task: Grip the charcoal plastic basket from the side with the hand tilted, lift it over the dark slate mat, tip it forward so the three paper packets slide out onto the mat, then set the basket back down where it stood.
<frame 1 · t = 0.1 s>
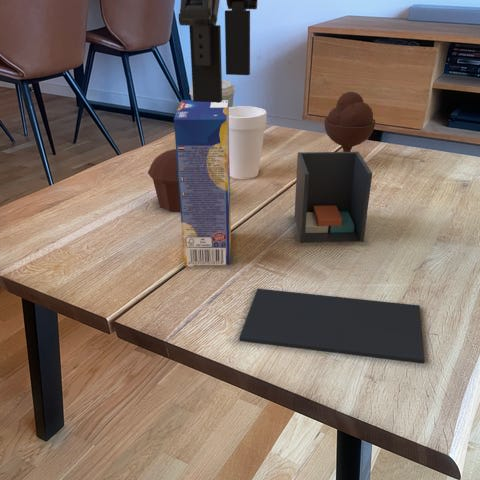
hand: (224, 87, 59), 28 cm above the table, tool pointing down, fingers open, 13 cm apart
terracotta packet: (326, 218, 95), point 2 cm above the table, touching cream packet, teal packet
ice cream bowl: (345, 165, 124), on the table
foam cup: (243, 175, 118), on the table
disposable coffee cup: (214, 147, 135), on the table
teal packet: (339, 225, 95), point 1 cm above the table, touching basket, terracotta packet
beverage box: (208, 252, 89), on the table
mat: (332, 325, 71), on the table
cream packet: (313, 225, 95), point 1 cm above the table, touching basket, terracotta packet
muffin: (182, 205, 105), on the table
basket: (327, 232, 95), on the table, touching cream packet, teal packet
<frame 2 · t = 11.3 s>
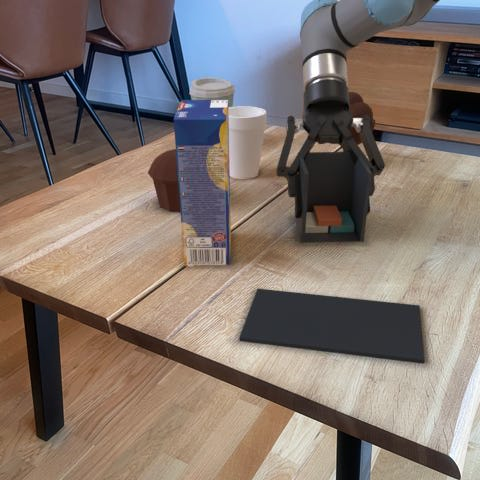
hand: (332, 214, 90), 5 cm above the table, tool tilted 45°, fingers closed on basket, 10 cm apart
basket: (327, 232, 95), on the table, touching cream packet, gripper, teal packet
everything else where it was.
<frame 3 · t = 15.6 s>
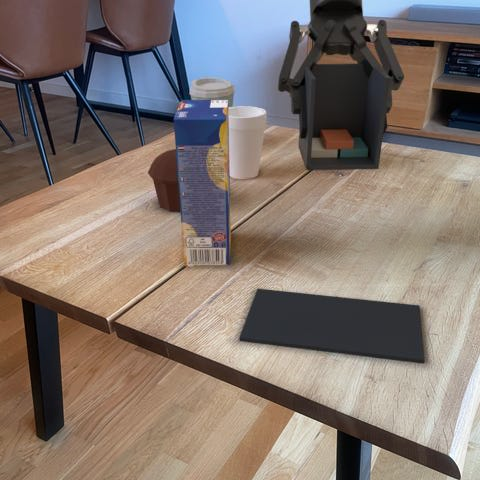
hand: (343, 133, 77), 19 cm above the table, tool tilted 45°, fingers closed on basket, 10 cm apart
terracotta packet: (336, 143, 82), point 16 cm above the table, touching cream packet, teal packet
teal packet: (350, 151, 83), point 15 cm above the table, touching basket, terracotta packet
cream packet: (320, 151, 83), point 15 cm above the table, touching basket, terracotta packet
basket: (336, 158, 82), point 14 cm above the table, touching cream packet, gripper, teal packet
everything else where it was.
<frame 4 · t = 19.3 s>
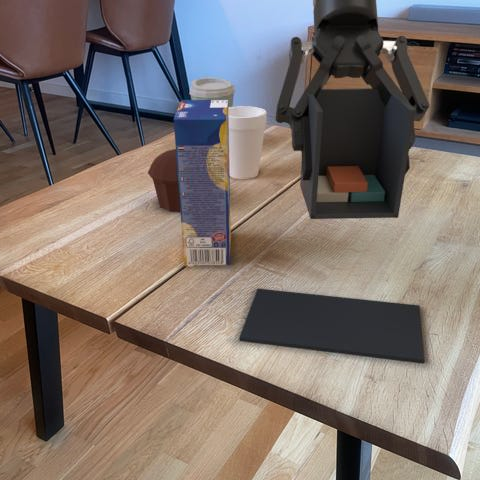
hand: (355, 174, 63), 19 cm above the table, tool tilted 45°, fingers closed on basket, 10 cm apart
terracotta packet: (345, 183, 68), point 16 cm above the table, touching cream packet, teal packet
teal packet: (362, 192, 69), point 15 cm above the table, touching basket, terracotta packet
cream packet: (327, 193, 69), point 15 cm above the table, touching basket, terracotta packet
basket: (346, 202, 68), point 14 cm above the table, touching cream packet, gripper, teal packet
everything else where it was.
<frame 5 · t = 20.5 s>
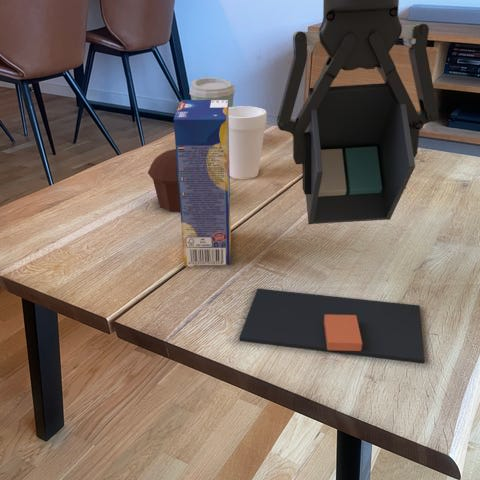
hand: (353, 188, 65), 17 cm above the table, tool pointing down, fingers closed on basket, 10 cm apart
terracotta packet: (342, 328, 67), point 2 cm above the table, tilted 180°, touching mat
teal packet: (362, 173, 70), point 17 cm above the table, tilted 39°, touching basket
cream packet: (327, 175, 71), point 16 cm above the table, tilted 39°, touching basket
basket: (345, 186, 71), point 15 cm above the table, tilted 39°, touching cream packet, gripper, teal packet
everything else where it was.
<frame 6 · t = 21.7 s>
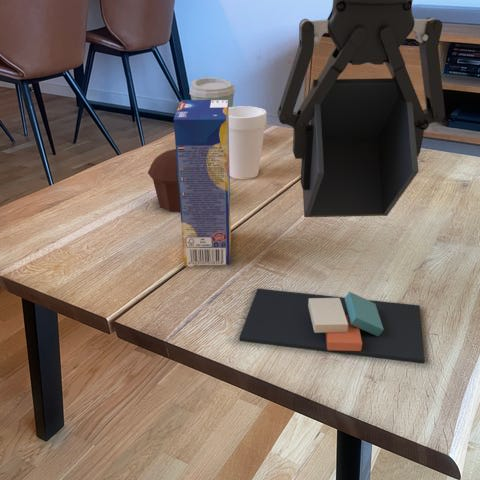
hand: (352, 185, 64), 18 cm above the table, tool pointing down, fingers closed on basket, 10 cm apart
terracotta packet: (342, 328, 67), point 2 cm above the table, tilted 180°, touching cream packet, mat, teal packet
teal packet: (366, 310, 69), point 3 cm above the table, tilted 153°, touching mat, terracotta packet
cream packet: (327, 310, 68), point 3 cm above the table, tilted 180°, touching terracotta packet
basket: (343, 178, 69), point 17 cm above the table, tilted 45°, touching gripper
everything else where it was.
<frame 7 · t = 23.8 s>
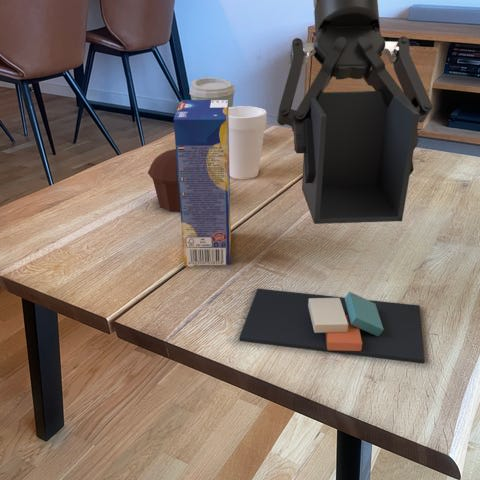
hand: (358, 177, 63), 19 cm above the table, tool tilted 45°, fingers closed on basket, 10 cm apart
basket: (349, 205, 68), point 14 cm above the table, touching gripper
everything else where it was.
when the fingers open (5 cm above the table, at t = 34.3 s): basket stays where it is, on the table.
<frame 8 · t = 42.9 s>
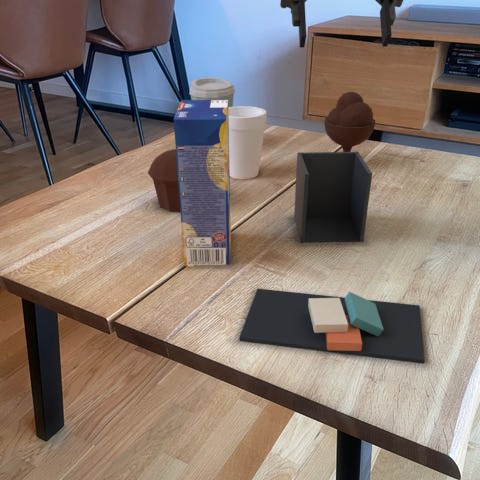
hand: (345, 41, 89), 28 cm above the table, tool tilted 45°, fingers open, 13 cm apart
basket: (327, 232, 94), on the table
everything else where it was.
at the end: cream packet inside the target area on the mat (1.7 cm from its centre), point 3.2 cm above the mat's base; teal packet inside the target area on the mat (3.9 cm from its centre), point 2.8 cm above the mat's base; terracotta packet inside the target area on the mat (3.5 cm from its centre), point 2.0 cm above the mat's base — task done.
